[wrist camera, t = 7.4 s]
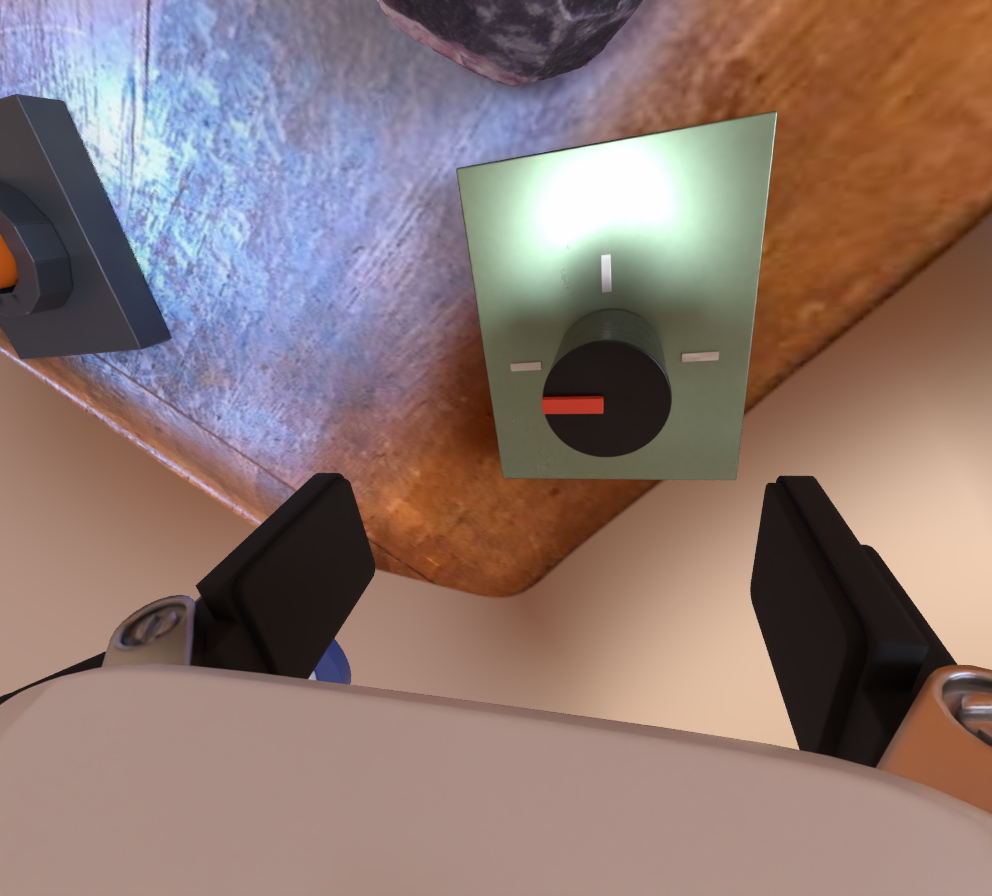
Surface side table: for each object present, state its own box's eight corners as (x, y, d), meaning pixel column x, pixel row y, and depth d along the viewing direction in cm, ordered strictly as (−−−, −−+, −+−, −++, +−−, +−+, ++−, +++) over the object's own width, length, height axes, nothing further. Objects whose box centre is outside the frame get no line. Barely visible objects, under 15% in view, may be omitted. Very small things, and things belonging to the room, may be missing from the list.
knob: (666, 305, 19) (677, 340, 15) (660, 408, 21) (669, 463, 17) (554, 312, 20) (536, 346, 16) (559, 408, 22) (545, 461, 18)
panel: (724, 449, 24) (737, 482, 21) (514, 450, 27) (502, 480, 24) (756, 120, 18) (780, 109, 15) (476, 169, 21) (454, 167, 18)
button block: (172, 338, 29) (112, 359, 26) (56, 349, 32) (-13, 369, 28) (63, 100, 23) (-32, 86, 20) (-66, 137, 26) (-170, 131, 23)
